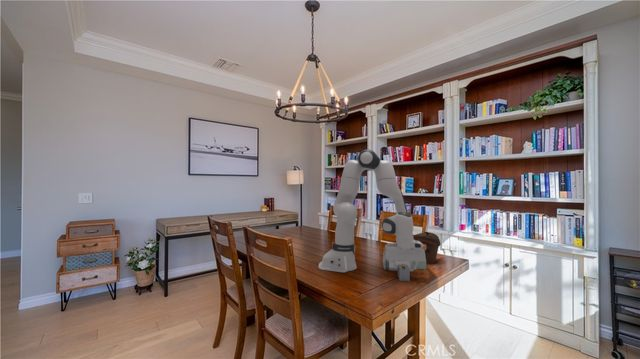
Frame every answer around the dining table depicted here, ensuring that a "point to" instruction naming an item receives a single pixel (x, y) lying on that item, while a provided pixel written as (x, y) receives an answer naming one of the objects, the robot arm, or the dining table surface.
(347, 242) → the robot arm
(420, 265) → the ram guide
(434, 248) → the case
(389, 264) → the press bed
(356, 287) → the dining table surface
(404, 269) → the block
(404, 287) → the dining table surface
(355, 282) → the dining table surface
